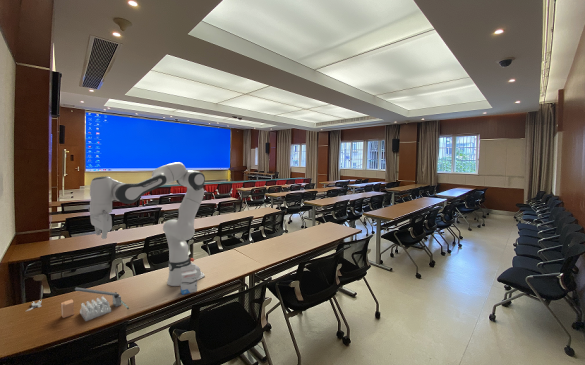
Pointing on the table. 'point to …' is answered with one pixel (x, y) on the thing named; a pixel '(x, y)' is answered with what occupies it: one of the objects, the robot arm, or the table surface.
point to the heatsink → (98, 307)
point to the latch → (67, 308)
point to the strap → (97, 291)
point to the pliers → (35, 305)
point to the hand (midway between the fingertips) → (101, 236)
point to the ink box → (188, 279)
